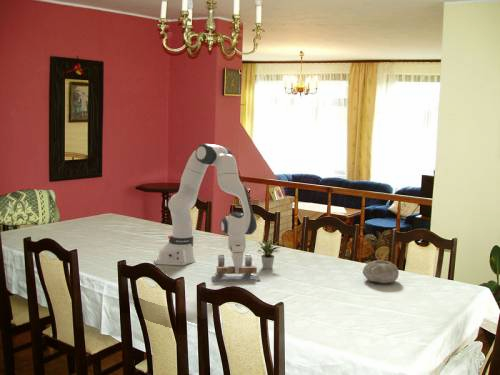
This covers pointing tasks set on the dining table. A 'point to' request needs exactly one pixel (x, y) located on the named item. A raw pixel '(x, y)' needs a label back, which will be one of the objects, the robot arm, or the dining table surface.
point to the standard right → (248, 263)
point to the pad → (234, 278)
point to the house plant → (268, 254)
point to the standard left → (221, 263)
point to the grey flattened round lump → (381, 271)
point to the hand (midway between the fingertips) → (236, 271)
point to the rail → (232, 270)
